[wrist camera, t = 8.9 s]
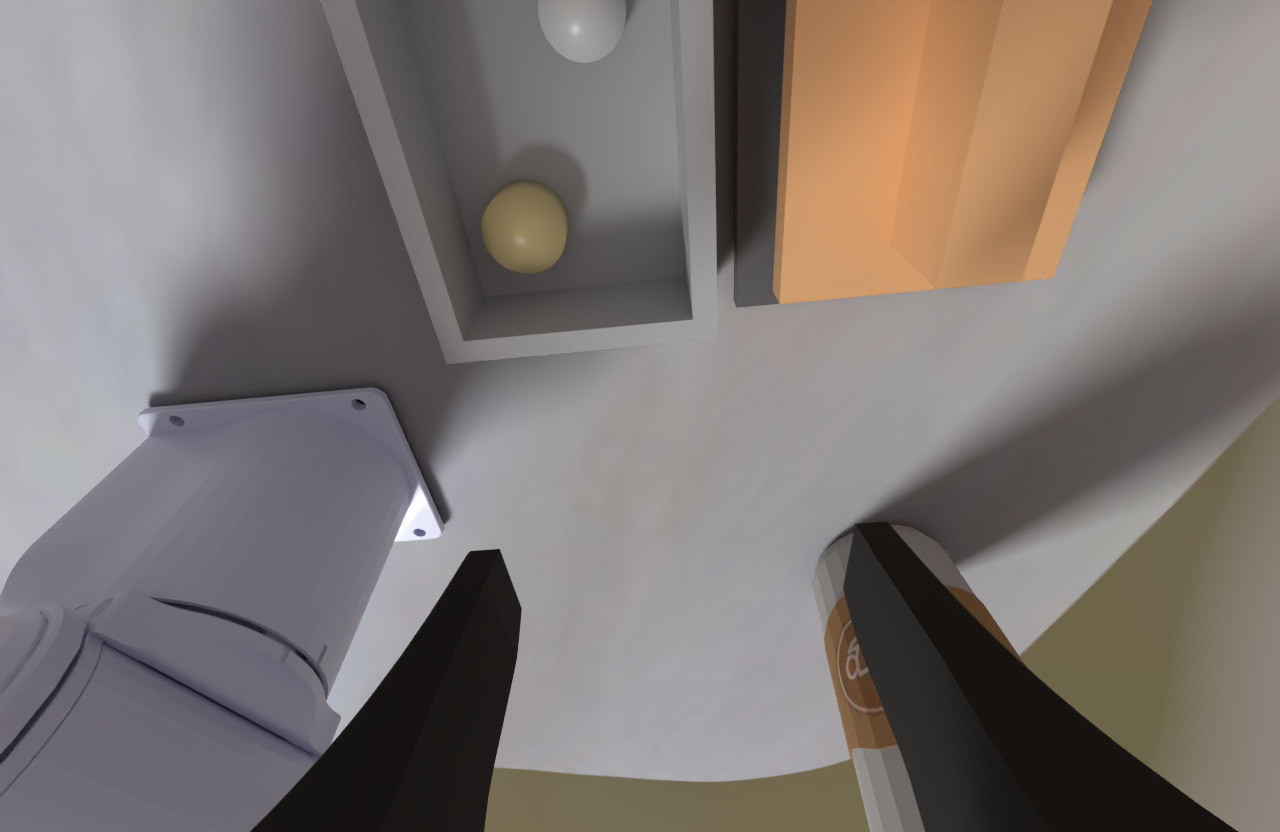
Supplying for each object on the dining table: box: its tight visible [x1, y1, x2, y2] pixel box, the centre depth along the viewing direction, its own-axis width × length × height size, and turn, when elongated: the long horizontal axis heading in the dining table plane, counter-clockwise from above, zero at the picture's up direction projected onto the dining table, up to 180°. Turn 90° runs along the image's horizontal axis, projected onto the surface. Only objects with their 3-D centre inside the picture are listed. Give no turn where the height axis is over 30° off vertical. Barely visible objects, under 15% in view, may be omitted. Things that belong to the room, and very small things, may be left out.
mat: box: [734, 0, 787, 307], centre depth 15 cm, size 10×13×1 cm
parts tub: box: [320, 0, 718, 364], centre depth 15 cm, size 8×11×4 cm
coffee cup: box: [813, 525, 1026, 832], centre depth 22 cm, size 8×8×15 cm
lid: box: [773, 0, 1153, 304], centre depth 13 cm, size 8×11×5 cm
